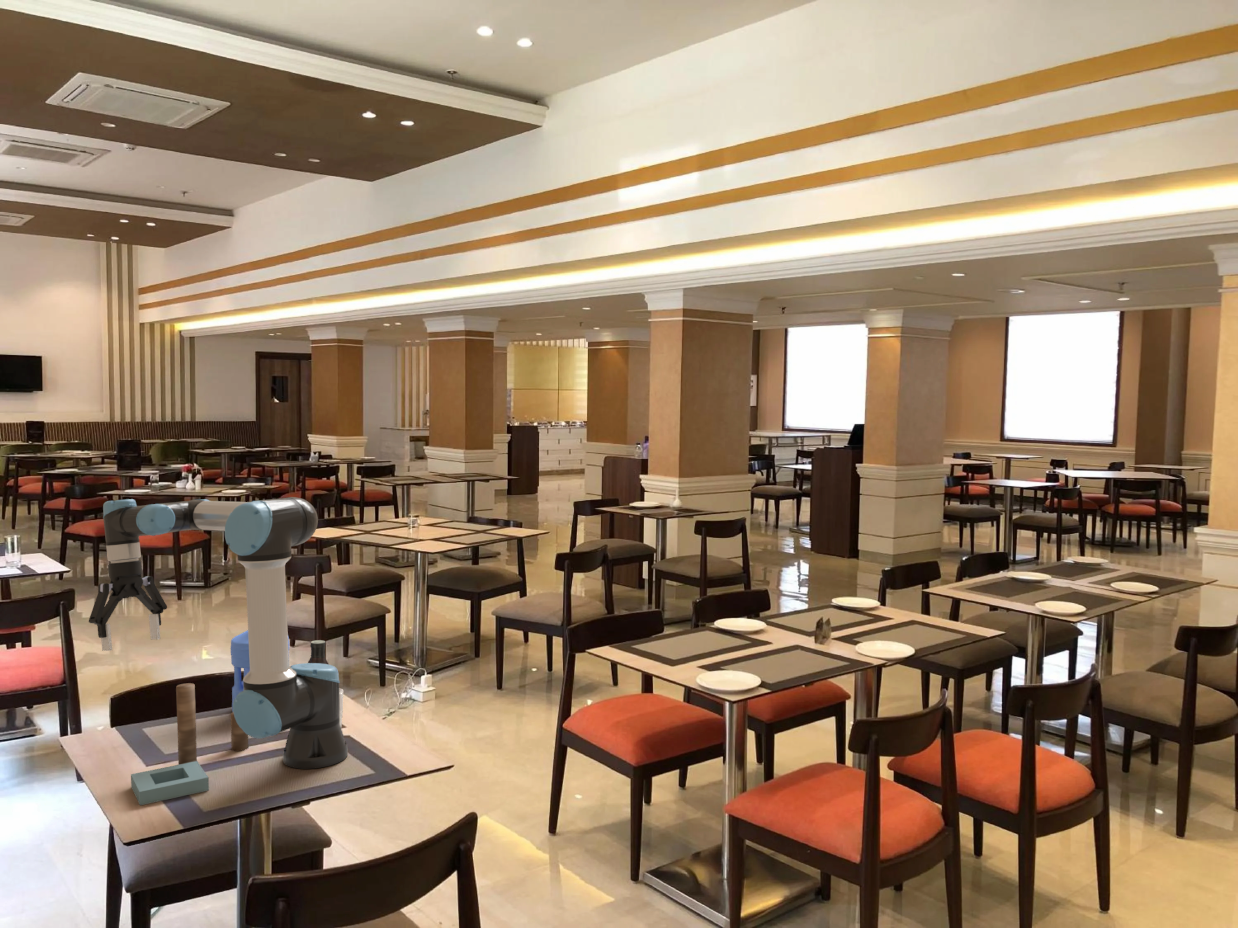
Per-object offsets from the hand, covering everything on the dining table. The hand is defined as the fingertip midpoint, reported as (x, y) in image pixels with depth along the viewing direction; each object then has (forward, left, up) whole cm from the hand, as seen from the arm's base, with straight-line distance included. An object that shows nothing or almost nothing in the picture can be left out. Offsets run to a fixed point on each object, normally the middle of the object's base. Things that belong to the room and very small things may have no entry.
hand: (132, 644), depth 241 cm
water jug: (-7, -35, -26) cm, 45 cm away
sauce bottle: (-22, -41, -26) cm, 54 cm away
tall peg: (-24, +5, -26) cm, 36 cm away
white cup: (-35, -31, -26) cm, 54 cm away
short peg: (-25, -10, -26) cm, 38 cm away
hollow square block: (-31, +15, -26) cm, 43 cm away
